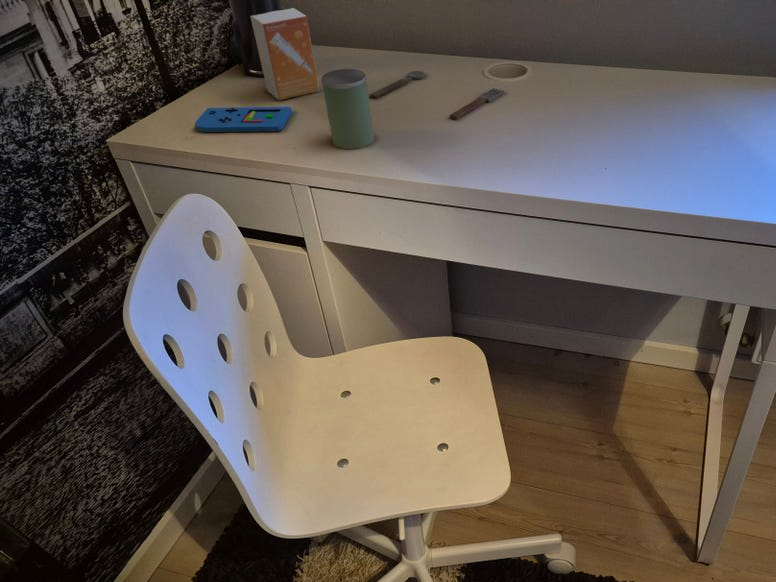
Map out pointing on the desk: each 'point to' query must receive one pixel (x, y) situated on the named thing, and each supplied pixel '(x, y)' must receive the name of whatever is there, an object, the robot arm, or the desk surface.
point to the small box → (285, 53)
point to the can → (348, 108)
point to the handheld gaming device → (243, 119)
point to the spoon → (398, 84)
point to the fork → (477, 103)
